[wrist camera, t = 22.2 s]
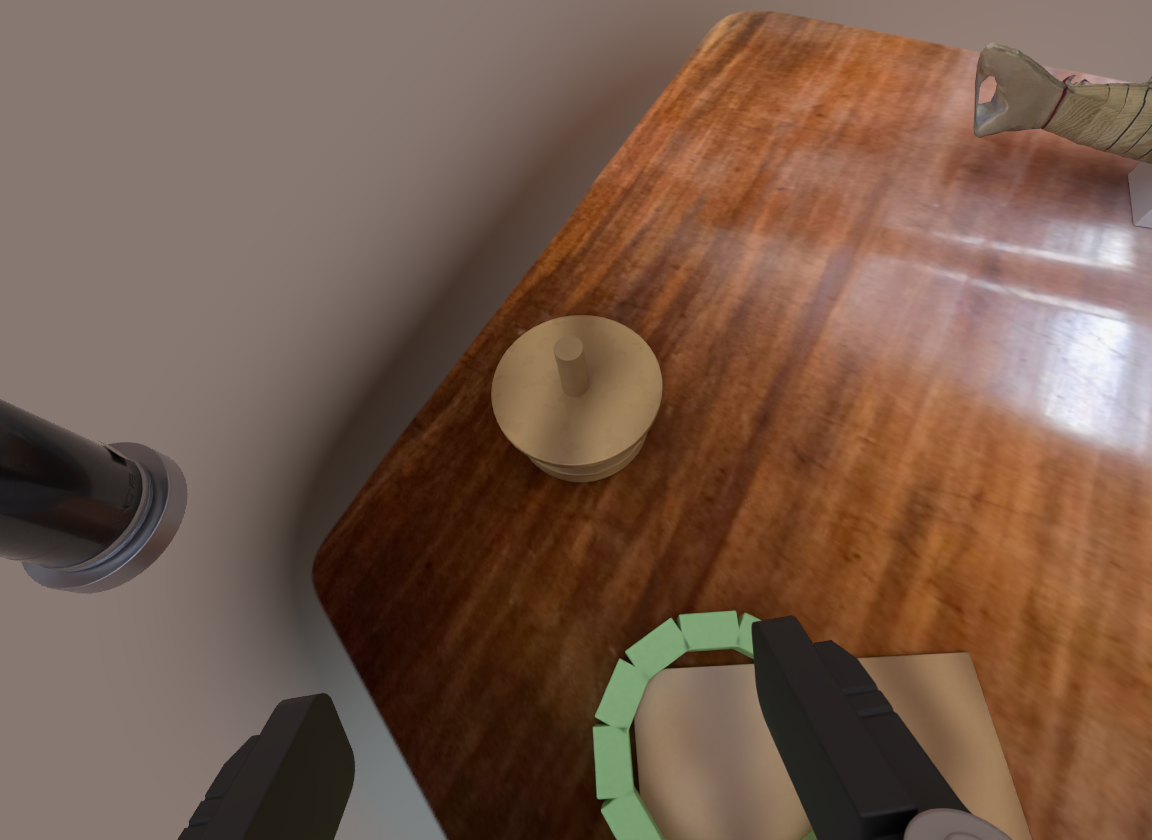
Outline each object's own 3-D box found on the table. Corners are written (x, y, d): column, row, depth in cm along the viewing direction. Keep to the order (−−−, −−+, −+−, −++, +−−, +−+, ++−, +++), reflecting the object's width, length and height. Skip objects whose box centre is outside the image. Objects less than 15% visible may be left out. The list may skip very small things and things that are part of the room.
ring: (607, 922, 28) (605, 937, 27) (588, 624, 35) (586, 621, 33) (896, 911, 27) (914, 926, 26) (821, 607, 34) (832, 603, 32)
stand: (507, 499, 40) (470, 444, 31) (508, 363, 45) (476, 282, 36) (668, 486, 39) (678, 426, 30) (650, 349, 44) (654, 263, 35)
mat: (656, 1001, 27) (657, 1005, 27) (629, 670, 34) (629, 670, 33) (1080, 995, 26) (1086, 999, 25) (965, 652, 32) (969, 651, 32)
